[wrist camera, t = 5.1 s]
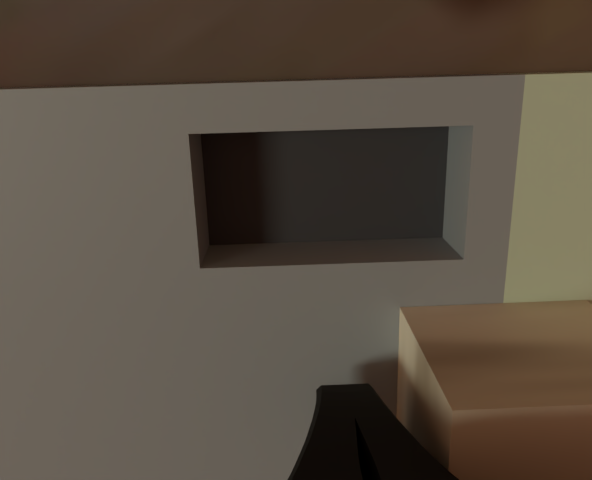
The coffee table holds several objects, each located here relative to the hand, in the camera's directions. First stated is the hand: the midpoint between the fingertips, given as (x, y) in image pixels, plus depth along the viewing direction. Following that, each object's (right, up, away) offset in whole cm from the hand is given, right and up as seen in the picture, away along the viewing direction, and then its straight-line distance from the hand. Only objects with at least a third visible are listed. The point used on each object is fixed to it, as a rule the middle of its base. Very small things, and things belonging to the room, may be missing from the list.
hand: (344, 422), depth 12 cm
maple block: (+4, +1, +1) cm, 4 cm away
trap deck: (0, +1, +3) cm, 3 cm away
